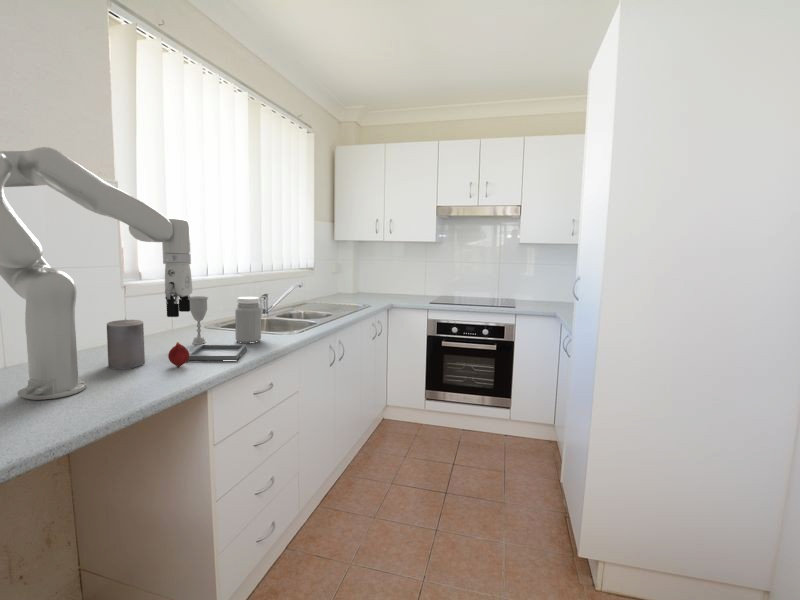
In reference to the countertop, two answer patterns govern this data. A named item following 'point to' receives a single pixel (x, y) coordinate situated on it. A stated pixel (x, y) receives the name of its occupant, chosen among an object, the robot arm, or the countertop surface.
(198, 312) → the chalice
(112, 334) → the pillar candle
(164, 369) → the countertop surface
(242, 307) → the jar
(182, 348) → the onion
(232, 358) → the tray
